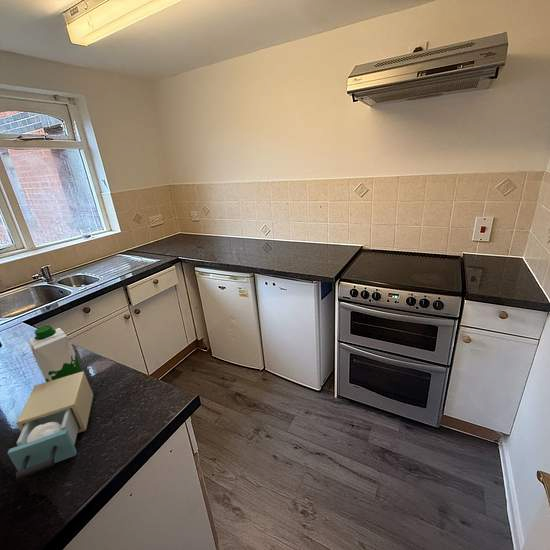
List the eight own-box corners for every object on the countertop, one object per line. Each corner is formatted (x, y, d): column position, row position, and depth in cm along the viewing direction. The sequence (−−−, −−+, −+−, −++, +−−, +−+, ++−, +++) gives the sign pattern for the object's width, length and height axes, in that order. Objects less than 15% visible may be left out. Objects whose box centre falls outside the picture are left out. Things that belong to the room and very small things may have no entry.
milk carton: (81, 374, 96) (58, 320, 89) (90, 386, 90) (67, 329, 83) (49, 390, 90) (22, 333, 83) (56, 403, 85) (28, 344, 77)
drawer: (71, 474, 63) (60, 451, 60) (11, 498, 59) (-3, 474, 57) (84, 415, 78) (76, 395, 76) (38, 431, 75) (27, 411, 72)
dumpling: (62, 431, 72) (67, 420, 71) (59, 452, 68) (64, 440, 67) (26, 432, 68) (31, 421, 67) (20, 454, 64) (25, 442, 63)
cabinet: (85, 430, 75) (74, 403, 72) (30, 449, 71) (16, 422, 68) (93, 395, 87) (83, 371, 83) (46, 410, 83) (34, 385, 80)
